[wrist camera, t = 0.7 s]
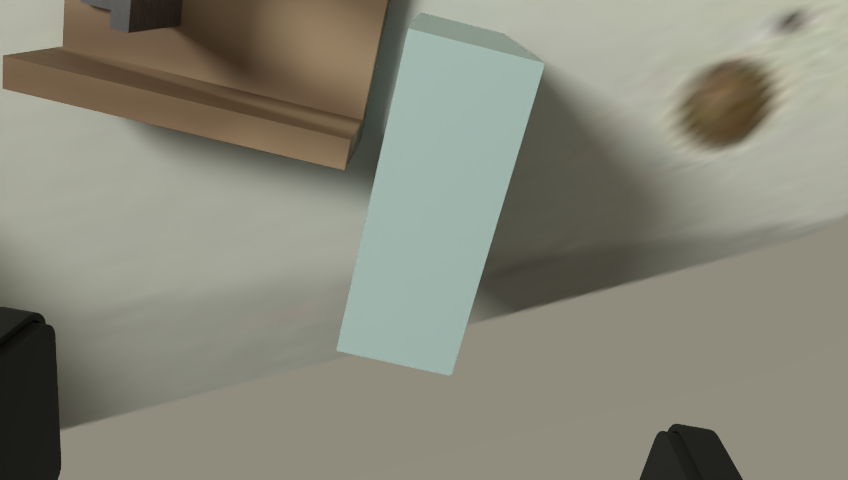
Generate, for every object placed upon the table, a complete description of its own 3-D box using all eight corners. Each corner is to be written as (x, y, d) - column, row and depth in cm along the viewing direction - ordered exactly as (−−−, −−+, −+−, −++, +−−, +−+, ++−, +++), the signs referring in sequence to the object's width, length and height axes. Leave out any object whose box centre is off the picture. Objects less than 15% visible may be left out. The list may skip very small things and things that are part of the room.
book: (447, 237, 39) (451, 375, 25) (373, 220, 39) (336, 350, 25) (503, 33, 35) (545, 63, 21) (420, 12, 35) (407, 28, 21)
